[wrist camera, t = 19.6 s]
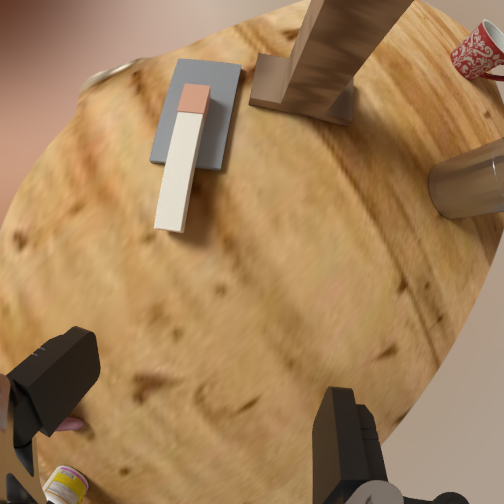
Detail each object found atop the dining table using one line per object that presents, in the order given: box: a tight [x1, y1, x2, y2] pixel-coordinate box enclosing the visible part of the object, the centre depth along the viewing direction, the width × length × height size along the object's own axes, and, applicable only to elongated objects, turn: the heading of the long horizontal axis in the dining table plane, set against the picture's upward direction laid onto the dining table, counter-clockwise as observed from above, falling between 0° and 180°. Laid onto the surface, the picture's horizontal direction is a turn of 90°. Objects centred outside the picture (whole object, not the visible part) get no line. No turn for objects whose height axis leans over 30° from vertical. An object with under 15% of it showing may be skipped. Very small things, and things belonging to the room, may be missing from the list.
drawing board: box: [150, 59, 241, 171], centre depth 36 cm, size 9×16×1 cm, turn 171°
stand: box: [249, 0, 414, 127], centre depth 22 cm, size 14×9×32 cm, turn 82°
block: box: [154, 84, 211, 233], centre depth 33 cm, size 3×18×3 cm, turn 172°
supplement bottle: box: [42, 466, 88, 504], centre depth 27 cm, size 7×7×13 cm
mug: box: [451, 20, 504, 81], centre depth 35 cm, size 13×9×14 cm
